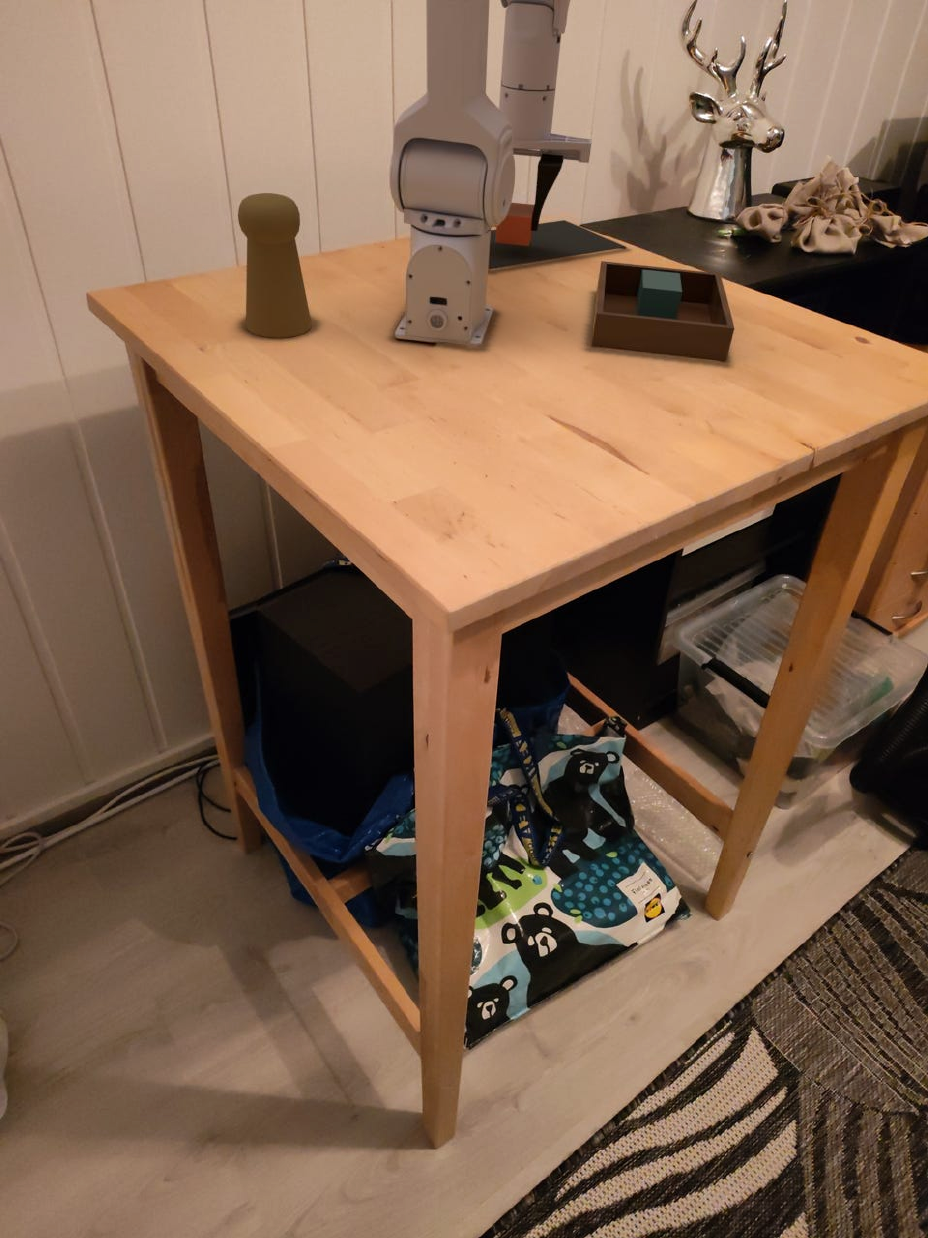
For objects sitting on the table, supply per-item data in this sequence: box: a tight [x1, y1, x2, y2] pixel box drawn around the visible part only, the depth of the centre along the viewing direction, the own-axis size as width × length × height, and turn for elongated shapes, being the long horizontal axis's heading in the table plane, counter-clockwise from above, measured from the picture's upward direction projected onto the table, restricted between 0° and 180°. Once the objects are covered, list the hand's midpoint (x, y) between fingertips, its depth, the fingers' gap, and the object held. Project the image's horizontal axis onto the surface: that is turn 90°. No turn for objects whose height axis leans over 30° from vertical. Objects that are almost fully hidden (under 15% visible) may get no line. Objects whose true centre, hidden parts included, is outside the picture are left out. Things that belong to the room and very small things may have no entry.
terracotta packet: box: [495, 202, 534, 246], centre depth 95 cm, size 6×4×3 cm
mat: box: [488, 219, 627, 270], centre depth 100 cm, size 12×20×1 cm, turn 123°
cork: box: [237, 192, 313, 339], centre depth 74 cm, size 6×6×11 cm
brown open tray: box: [590, 260, 735, 362], centre depth 81 cm, size 15×12×3 cm
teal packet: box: [637, 270, 682, 320], centre depth 83 cm, size 6×4×3 cm
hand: (515, 226), depth 95 cm, fingers closed on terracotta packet, 4 cm apart
